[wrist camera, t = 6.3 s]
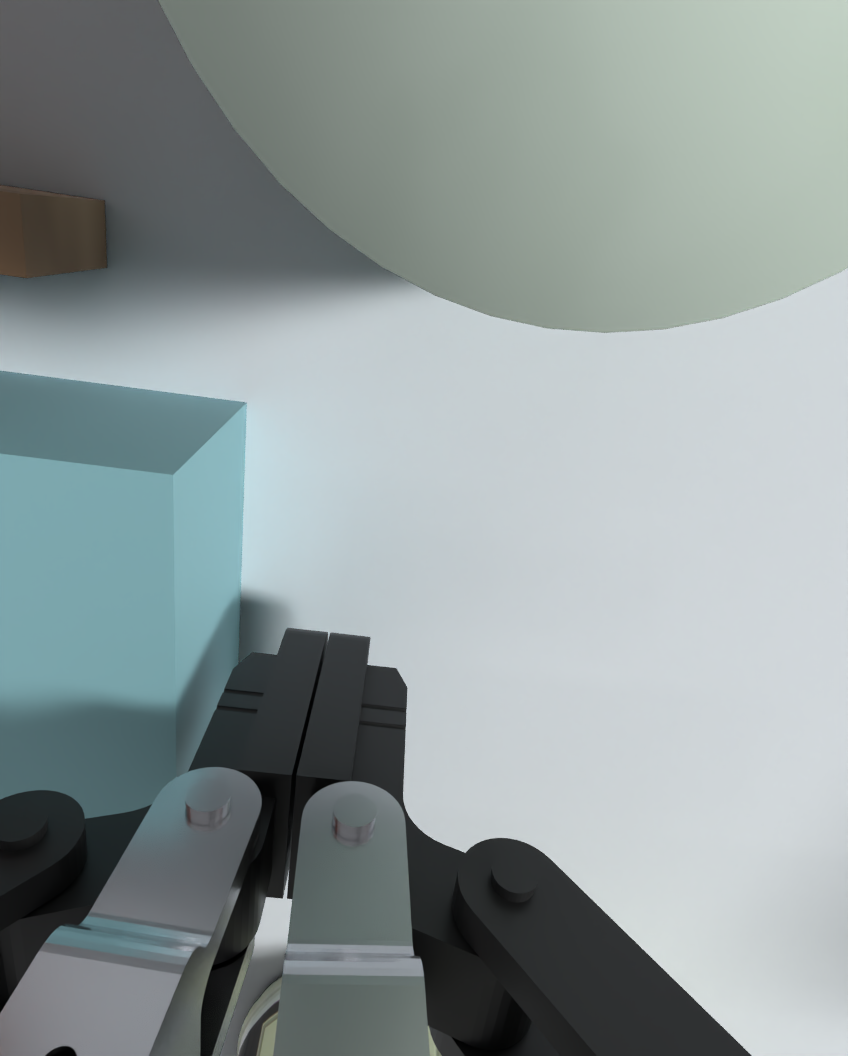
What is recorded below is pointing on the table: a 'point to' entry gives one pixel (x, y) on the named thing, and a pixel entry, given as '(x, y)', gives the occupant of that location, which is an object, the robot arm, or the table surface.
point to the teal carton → (114, 584)
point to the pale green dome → (552, 144)
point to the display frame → (50, 233)
